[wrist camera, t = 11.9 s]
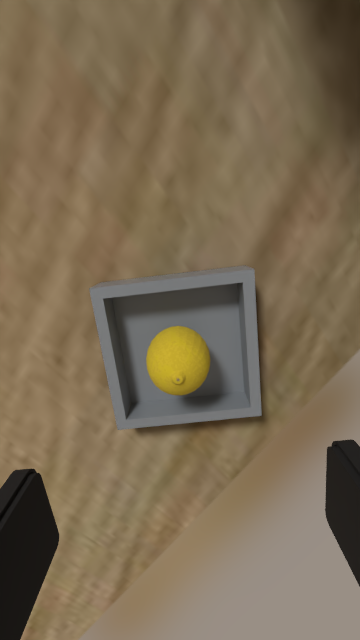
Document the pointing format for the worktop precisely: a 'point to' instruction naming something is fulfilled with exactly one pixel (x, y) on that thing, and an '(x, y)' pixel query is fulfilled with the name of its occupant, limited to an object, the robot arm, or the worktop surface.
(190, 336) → the lemon
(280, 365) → the worktop surface
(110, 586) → the worktop surface
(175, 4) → the worktop surface
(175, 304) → the box
